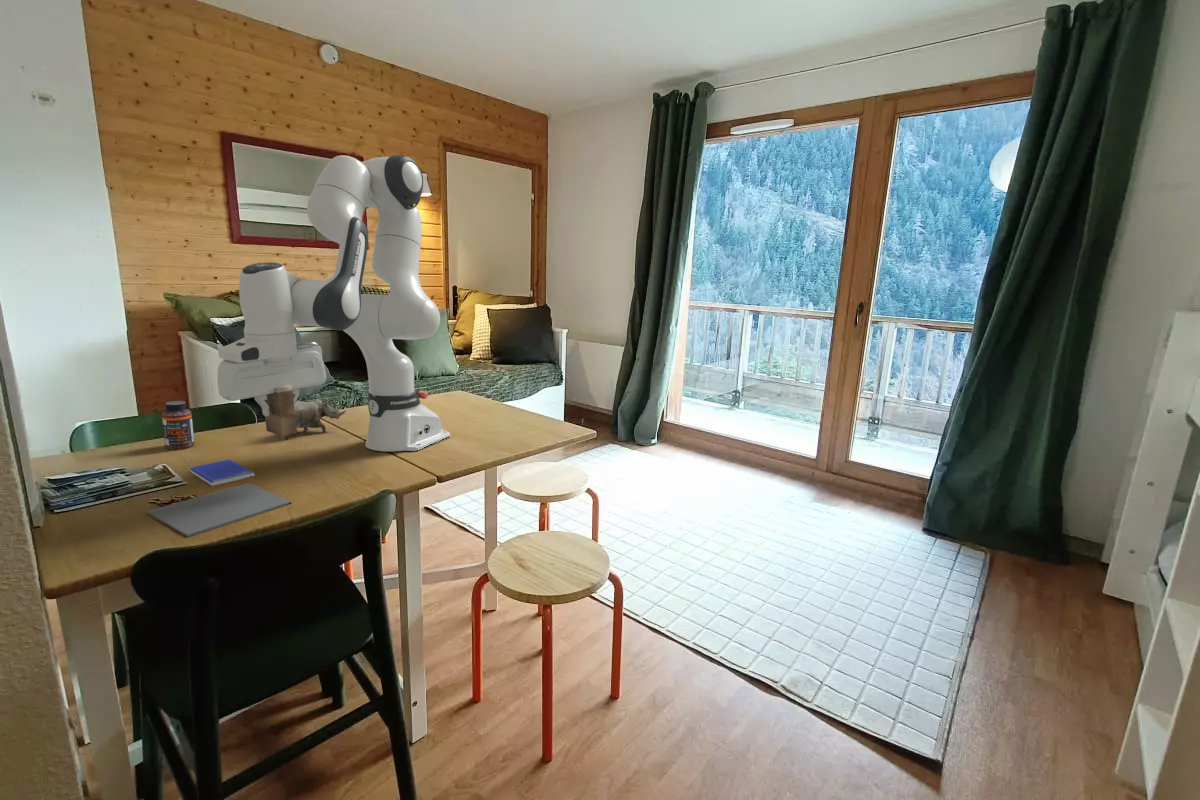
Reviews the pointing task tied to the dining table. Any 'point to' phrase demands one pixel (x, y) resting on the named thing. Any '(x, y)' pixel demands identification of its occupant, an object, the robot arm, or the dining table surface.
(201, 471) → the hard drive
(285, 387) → the block
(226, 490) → the mat
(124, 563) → the dining table surface
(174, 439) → the supplement bottle
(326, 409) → the rhinoceros figurine
